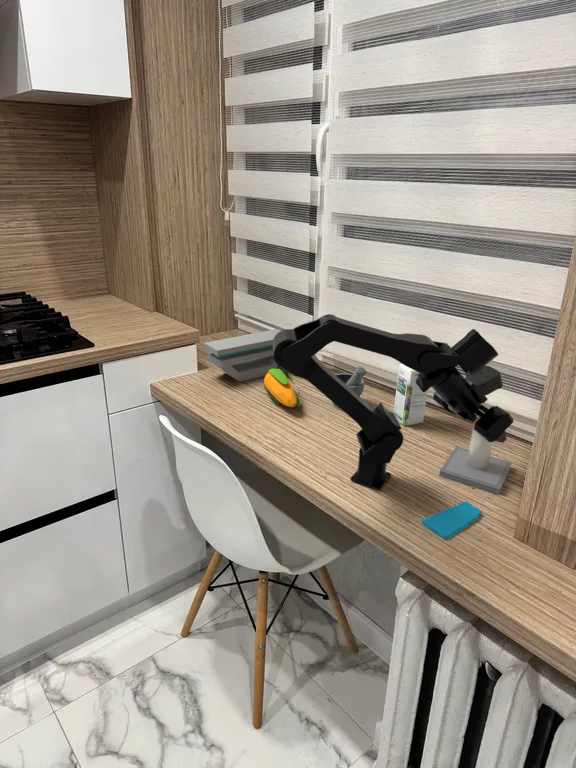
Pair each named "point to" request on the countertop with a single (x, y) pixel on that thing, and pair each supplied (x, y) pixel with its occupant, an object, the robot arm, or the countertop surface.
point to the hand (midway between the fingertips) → (489, 430)
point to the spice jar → (479, 451)
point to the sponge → (452, 520)
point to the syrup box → (409, 398)
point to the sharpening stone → (244, 355)
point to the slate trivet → (476, 471)
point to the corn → (281, 388)
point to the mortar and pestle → (353, 381)
